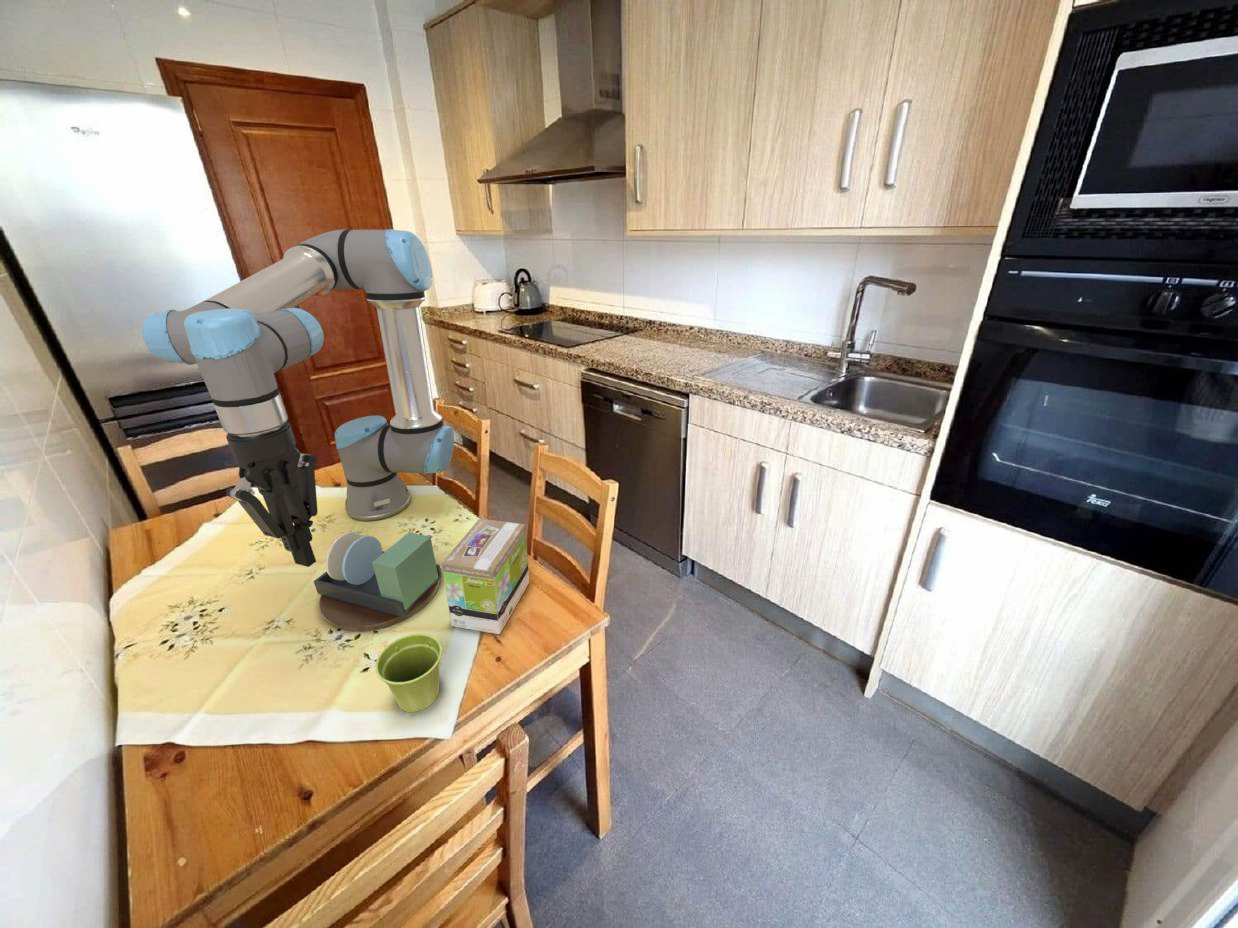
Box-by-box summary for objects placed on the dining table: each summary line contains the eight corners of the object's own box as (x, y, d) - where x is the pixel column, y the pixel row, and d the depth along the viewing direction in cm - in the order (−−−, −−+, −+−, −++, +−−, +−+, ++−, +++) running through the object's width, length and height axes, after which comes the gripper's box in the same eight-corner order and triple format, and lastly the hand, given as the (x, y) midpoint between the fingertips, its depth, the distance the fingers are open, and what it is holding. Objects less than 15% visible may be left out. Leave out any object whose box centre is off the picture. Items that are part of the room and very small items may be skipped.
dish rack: (317, 593, 98) (302, 549, 93) (363, 557, 108) (351, 515, 103) (402, 617, 92) (390, 571, 88) (442, 577, 103) (433, 533, 98)
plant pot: (462, 683, 81) (455, 644, 77) (420, 732, 74) (409, 692, 70) (418, 664, 85) (409, 625, 81) (373, 709, 77) (360, 669, 73)
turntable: (378, 548, 113) (377, 544, 113) (461, 568, 107) (460, 564, 107) (293, 614, 95) (291, 610, 94) (388, 644, 88) (387, 639, 88)
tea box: (502, 636, 90) (493, 571, 84) (450, 627, 92) (438, 563, 85) (531, 582, 103) (525, 521, 97) (486, 575, 105) (477, 516, 98)
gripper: (279, 407, 76) (321, 535, 87) (189, 441, 65) (250, 583, 76) (317, 413, 74) (355, 543, 85) (231, 450, 63) (288, 594, 74)
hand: (305, 562), depth 80 cm, fingers closed
